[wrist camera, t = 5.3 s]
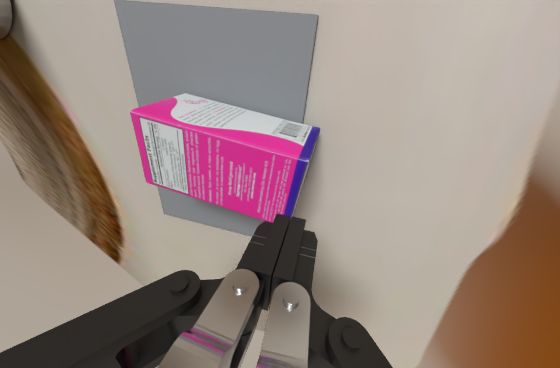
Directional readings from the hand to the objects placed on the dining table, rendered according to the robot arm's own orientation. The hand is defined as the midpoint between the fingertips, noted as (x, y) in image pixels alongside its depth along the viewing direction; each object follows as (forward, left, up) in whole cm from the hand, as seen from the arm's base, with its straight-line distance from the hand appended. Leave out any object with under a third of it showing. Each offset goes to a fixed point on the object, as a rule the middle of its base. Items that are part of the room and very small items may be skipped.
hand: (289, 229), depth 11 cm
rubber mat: (-9, 0, -9) cm, 12 cm away
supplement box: (0, 0, -5) cm, 5 cm away
